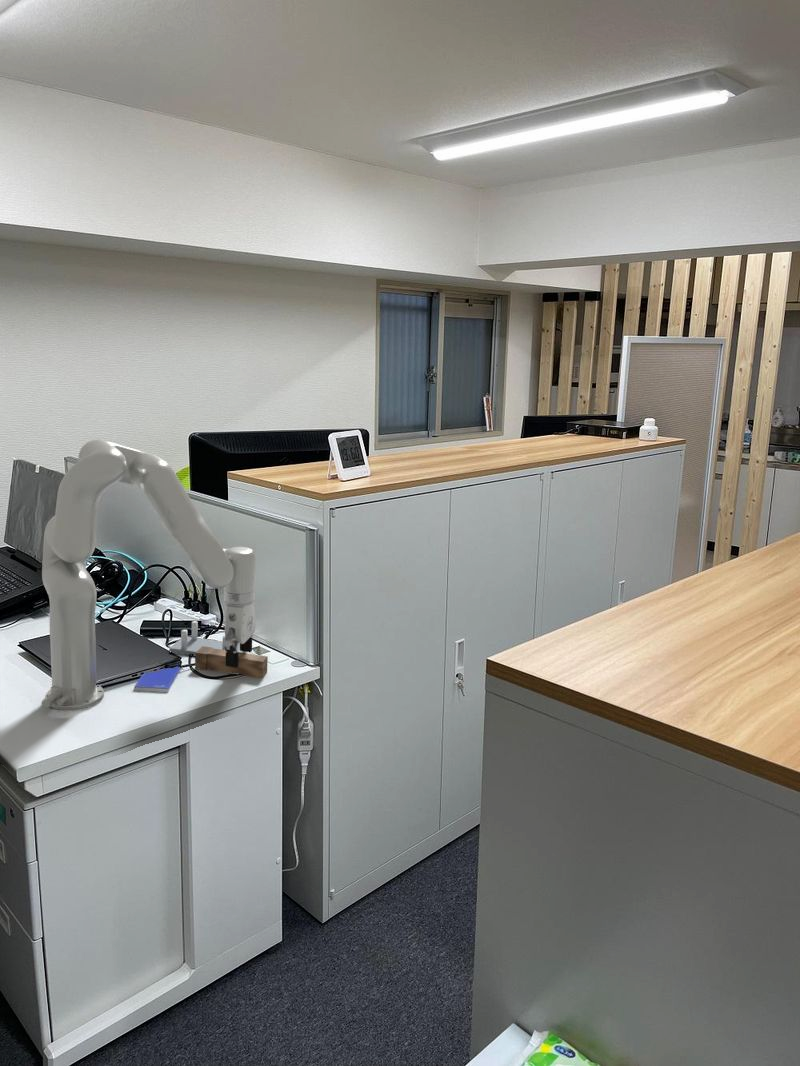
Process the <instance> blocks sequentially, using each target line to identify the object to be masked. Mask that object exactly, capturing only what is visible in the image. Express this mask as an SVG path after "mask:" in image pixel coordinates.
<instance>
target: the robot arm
mask: <svg viewBox="0 0 800 1066" xmlns="http://www.w3.org/2000/svg"><path fill="white" fill-rule="evenodd" d="M117 483H123V484H127V485H130V486H135V487H137V488H139V490H141V492H142V494H143V496H144V497H145V498H146V500H147V502H148V503H149V505H150V507H151V508H152V510H153V511H154V513H155V514H156V516H157V517H158V520H159V521H160V523H161V524H162V527H164V528H165V530H166V531H167V533H168V534H169V535H170V536H171V538H172V539H174V540H175V542H176V543H177V544H178V545H179V546H180V547H181V548H182V550H183V551H184V552H185V553H186V554H187V556H188V557H189V558H190V560H189V565H190V568H191V570H192V571H193V573H194V574H195V575H196V576H197V577H198V578H199V579H200V580H202V581H203V583H204V584H205V585H206V586H208V587H210V588H212V589H224V590H223V591H224V592H223V593H224V595H223V601H224V602H223V603H224V604H226V609H225V617H224V618H225V620H224V636H225V641H224V644H225V652H226V666H228V667H236V668H237V667H238V666H239V652H237V650H238V646H239V644H240V651H245V652H246V653H252V651H253V636H254V635H253V634H254V633H255V632H256V608H255V603H256V602H255V600H256V598H255V597H256V595H255V594H256V584H255V583H256V553H255V551H254V550H253V549H252V548H250V547H246V546H233V547H230V548H223V547H222V545H221V544H220V542H219V540H218V538H217V537H216V536H215V534H214V533H213V532H212V529H210V527H209V526H208V524H207V522H206V521H205V519H204V518H203V516H202V515H201V512H199V510H198V509H197V507H196V505H195V504H194V502H193V501H192V499H191V497H190V496H189V494H188V493H187V490H186V489H185V488H184V487H185V486H183V483H182V482H181V480H180V478H179V477H178V476H177V474H176V472H175V470H174V469H173V468H172V466H171V465H170V463H168V462H167V461H165V460H164V459H162V458H161V457H159V456H157V455H155V454H153V453H149V452H146V451H143V450H138V449H134V448H132V447H131V448H130V447H127V446H124V445H121V444H117V443H114V442H110V441H107V440H105V439H104V440H103V439H94V440H90V441H88V442H85V443H84V445H83V446H82V447H81V448H80V451H79V453H78V461H77V462H76V463H74V464H73V465H72V466H71V467H70V469H68V470H67V471H66V473H65V474H64V475H63V478H62V479H61V481H60V483H59V487H58V489H57V496H56V505H55V514H54V515H53V516H52V517H51V518H50V519H49V520H48V522H47V524H46V525H45V528H44V529H45V530H44V535H43V548H42V564H41V566H42V567H41V577H42V578H41V579H42V584H43V586H44V588H45V591H46V593H47V595H48V599H49V639H50V640H49V641H50V664H51V665H50V666H51V668H50V669H51V687H50V690H48V691H47V692H46V693H45V695H44V699H43V700H42V701H41V705H42V706H43V708H47V709H48V708H49V707H50V708H52V709H56V710H60V711H61V710H62V711H75V710H77V711H78V710H83V709H86V708H90V707H93V706H94V705H97V704H98V703H99V702H101V701H102V700H103V699H104V696H105V693H104V692H105V691H104V688H103V687H102V686H101V685H99V687H97V685H98V684H97V653H96V652H97V651H96V650H97V648H96V647H97V646H96V644H97V643H96V608H97V587H96V585H95V581H94V579H93V578H92V576H91V574H90V573H89V571H87V569H86V568H87V560H88V559H90V558H91V557H92V555H93V553H94V552H95V549H96V544H97V524H98V523H97V522H98V510H99V504H100V500H101V496H102V495H103V494H104V492H105V491H106V490H107V489H108V488H109V487H111V486H113V485H115V484H117ZM232 639H236V640H237V641H236V640H232ZM231 643H233V644H235V647H233V645H231ZM96 684H97V685H96Z"/></svg>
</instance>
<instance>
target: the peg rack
mask: <svg viewBox="0 0 800 1066" xmlns="http://www.w3.org/2000/svg"><path fill="white" fill-rule="evenodd" d="M198 623H199V622H198V621H196V620H194V621H191V636H188V630H187V629H182V630H180V635H181V637H180V638H179V639H178V640H177V641H176V642H175V643H173V644H172V645H171V646H169V649H168V651H171V652H173V653H174V654H180V655H185V656H190V655H189V654H190V653H191V654H193V657H195V652H196V651H198V650H199V649H200V648H201V647H202V646H205V647H212V648H214V649H220V650H225V644H224V641H225V635H223V636H222V640H215V639H208V638H202V637H201V638H200V637H198V636H199V635H198V632H199V631H198V627H199V624H198ZM232 640H236V639H232ZM236 641H237V640H236ZM231 645H233V647H235V644H233V643H231ZM171 652H170V653H171ZM237 652H241V653H247V652H245V651H240V643H239V646H238V650H237ZM173 653H172V654H173Z"/></svg>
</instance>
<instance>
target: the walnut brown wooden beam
mask: <svg viewBox="0 0 800 1066" xmlns="http://www.w3.org/2000/svg"><path fill="white" fill-rule="evenodd" d="M268 658H269V657H268V656H267V655H260V654H255V653H253V654H252V653H249V652H246V653H241V652H239V666H238V667H237V668H236V667H228V666H226V652H225V650H220V649H214V648H212V647H205V646H202V647H201V648H200V649H199V650H198V651H196V652H195V656H194V668H195V669H196V670H201V671H202V670H203V671H214V672H220V673H226V672H227V674H232V673H239V674H244V675H243V676H246V677H252V678H253V677H254V678H261V679H263V678H264V677H265V676H266V674H267V673H268ZM195 669H194V670H195ZM239 674H238V675H239Z"/></svg>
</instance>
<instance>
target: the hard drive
mask: <svg viewBox="0 0 800 1066" xmlns="http://www.w3.org/2000/svg"><path fill="white" fill-rule="evenodd" d="M180 672H181V667H180V666H176V667H174V668H166V669H163V670H159V671H155V672H150V673H145V674H143V673H142V675H141V676H140V677H139V679H138V680H137V681H136V684H135V685H134V687H133V691H142V692H144V691H145V692H161V693H162V692H163V693H169V691H170V690H171V688H172V686H173V685H174V683H175V681H176V679H177V677H178V675H179V674H180Z"/></svg>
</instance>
